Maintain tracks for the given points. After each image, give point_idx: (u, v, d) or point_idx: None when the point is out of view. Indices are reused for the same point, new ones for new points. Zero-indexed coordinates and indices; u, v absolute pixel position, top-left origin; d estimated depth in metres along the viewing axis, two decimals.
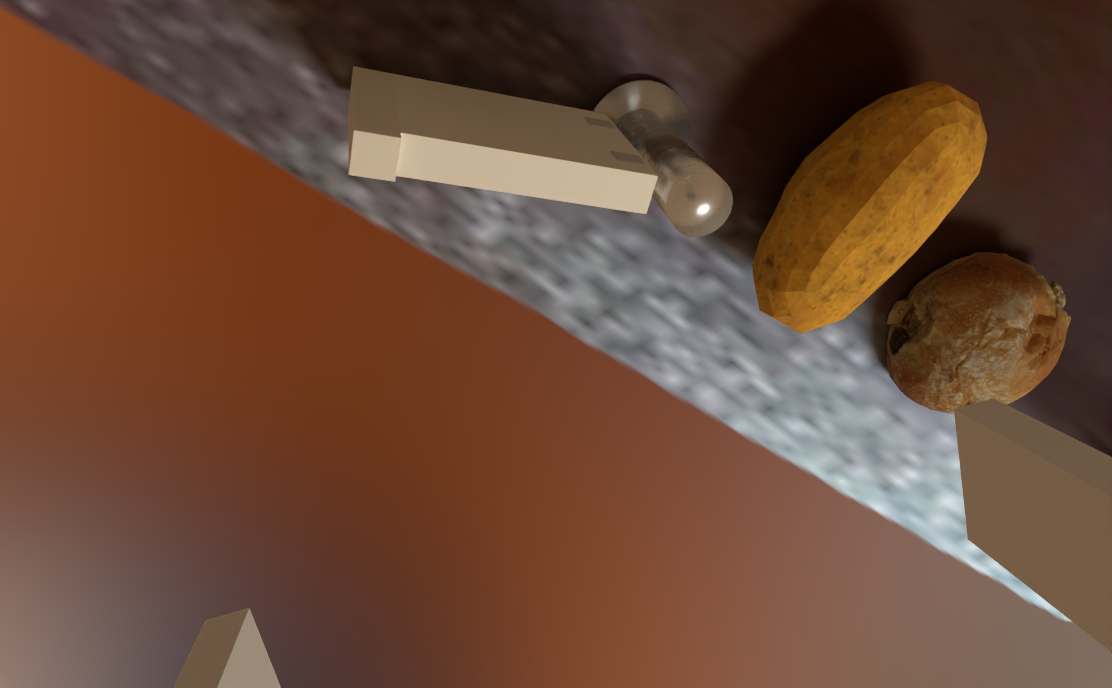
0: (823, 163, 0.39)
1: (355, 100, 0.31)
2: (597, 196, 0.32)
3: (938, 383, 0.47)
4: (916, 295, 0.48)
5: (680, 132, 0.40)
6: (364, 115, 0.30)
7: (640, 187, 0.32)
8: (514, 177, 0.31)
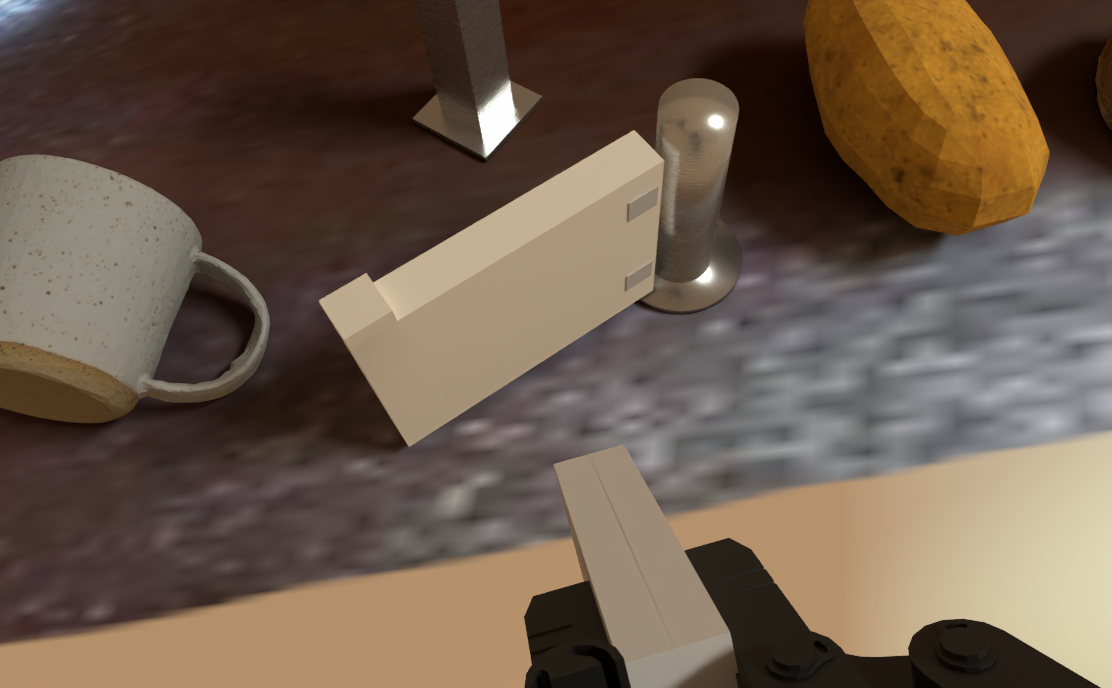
0: (824, 93, 0.34)
1: None
2: (602, 184, 0.26)
3: None
4: None
5: None
6: None
7: (630, 148, 0.27)
8: (509, 233, 0.26)
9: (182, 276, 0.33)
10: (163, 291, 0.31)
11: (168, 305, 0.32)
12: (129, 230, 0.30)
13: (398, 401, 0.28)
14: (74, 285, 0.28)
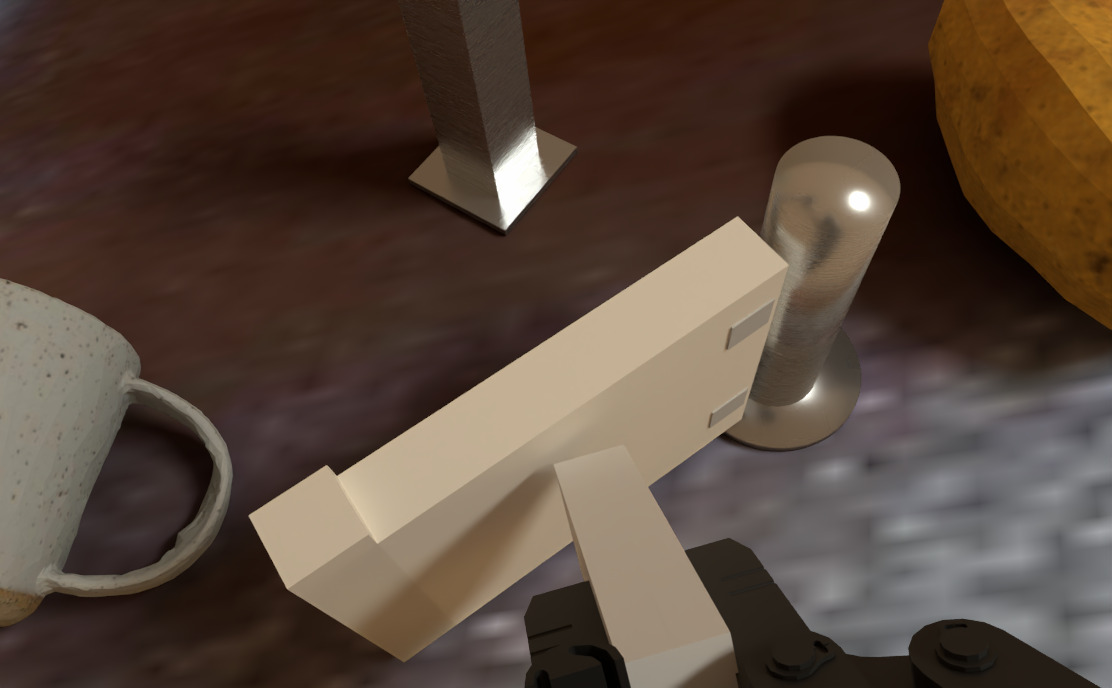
0: (970, 144, 0.25)
1: None
2: (695, 305, 0.17)
3: None
4: None
5: None
6: None
7: (734, 246, 0.18)
8: (553, 387, 0.16)
9: (108, 416, 0.23)
10: (76, 444, 0.22)
11: (86, 460, 0.23)
12: (21, 365, 0.21)
13: (385, 626, 0.19)
14: None
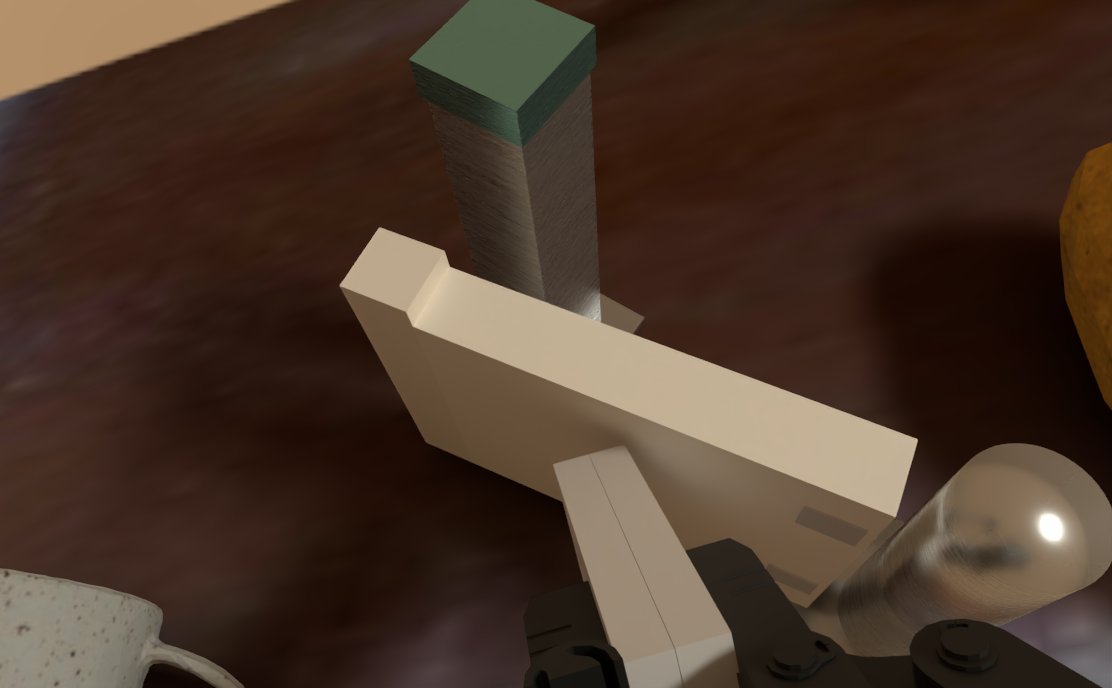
0: None
1: None
2: (783, 450, 0.15)
3: None
4: None
5: None
6: None
7: (878, 454, 0.15)
8: (619, 375, 0.16)
9: None
10: None
11: None
12: (22, 680, 0.17)
13: (413, 396, 0.21)
14: None
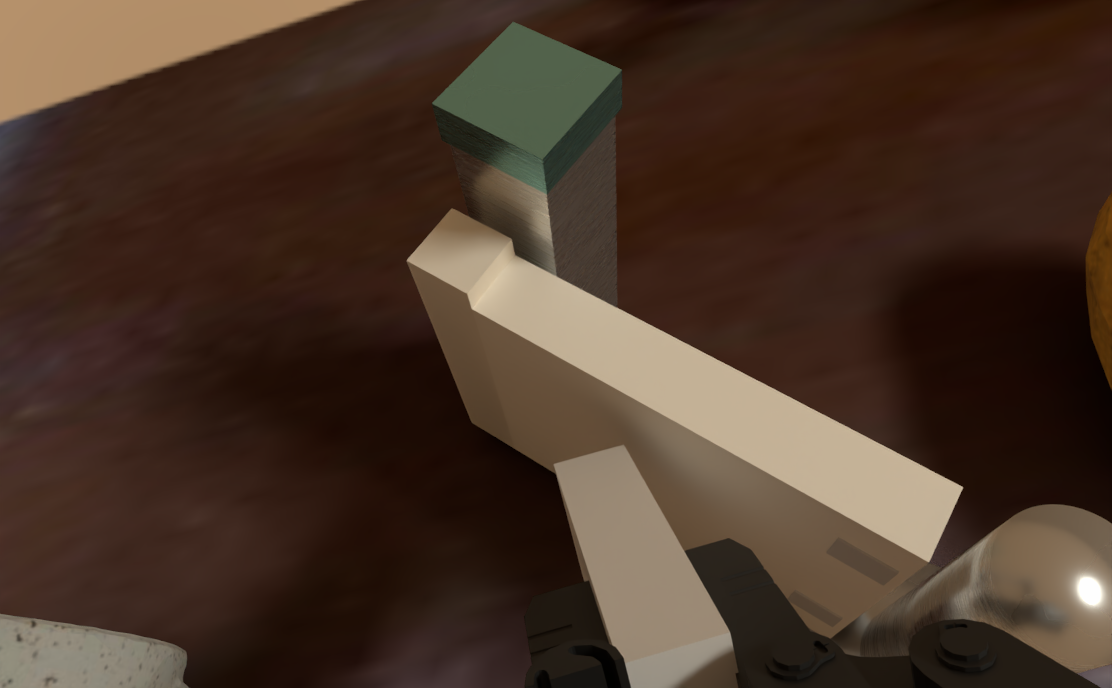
0: None
1: None
2: (823, 480, 0.15)
3: None
4: None
5: None
6: None
7: (920, 496, 0.15)
8: (667, 383, 0.16)
9: None
10: None
11: None
12: None
13: (464, 377, 0.22)
14: None
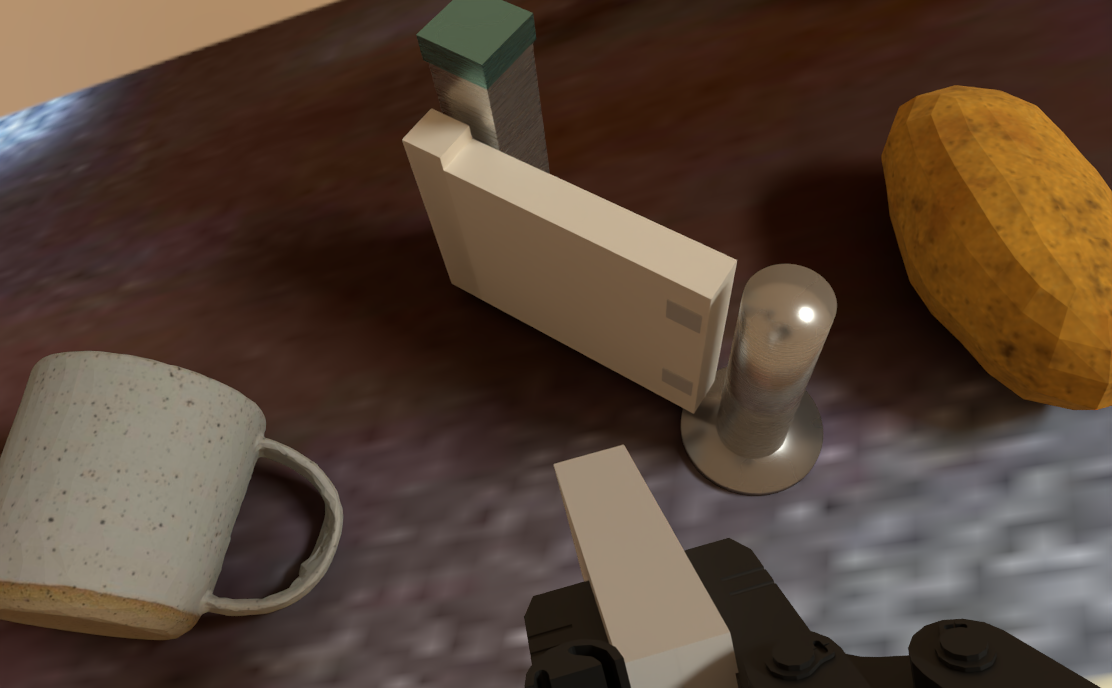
0: (911, 245, 0.30)
1: None
2: (654, 258, 0.25)
3: None
4: None
5: None
6: None
7: (710, 265, 0.25)
8: (564, 209, 0.26)
9: (246, 470, 0.29)
10: (227, 494, 0.28)
11: (232, 507, 0.28)
12: (191, 434, 0.26)
13: (443, 236, 0.32)
14: (132, 508, 0.25)
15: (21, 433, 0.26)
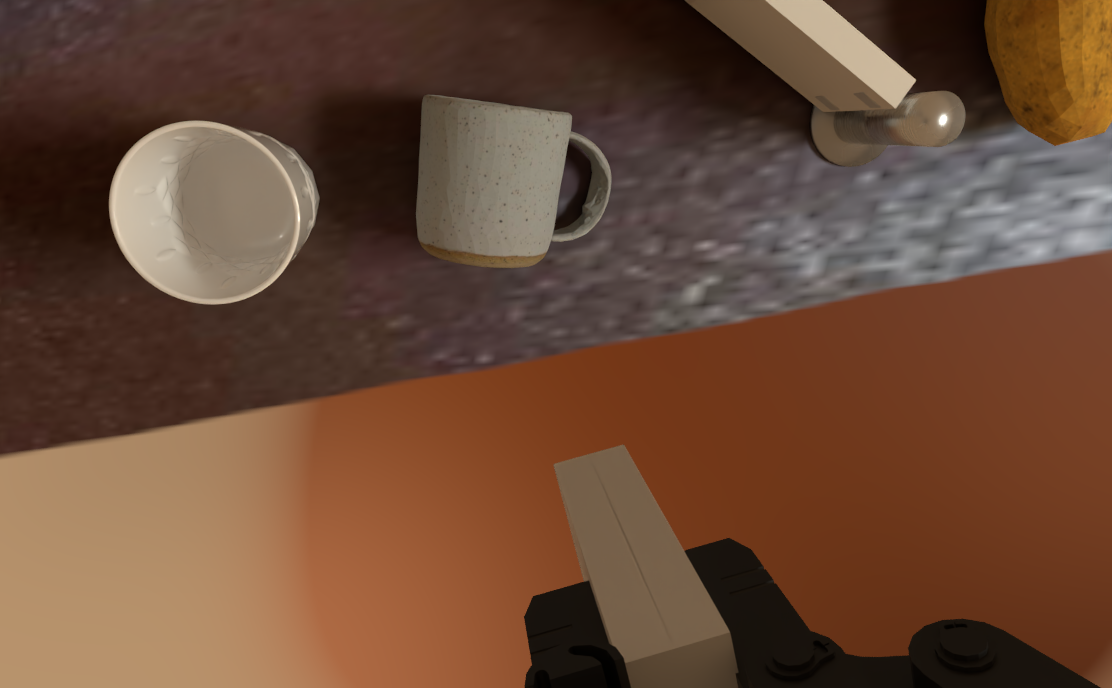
0: (1001, 15, 0.44)
1: None
2: (868, 74, 0.39)
3: None
4: None
5: None
6: None
7: (900, 83, 0.40)
8: (818, 25, 0.38)
9: None
10: None
11: None
12: (557, 155, 0.41)
13: None
14: (537, 209, 0.41)
15: (460, 161, 0.39)
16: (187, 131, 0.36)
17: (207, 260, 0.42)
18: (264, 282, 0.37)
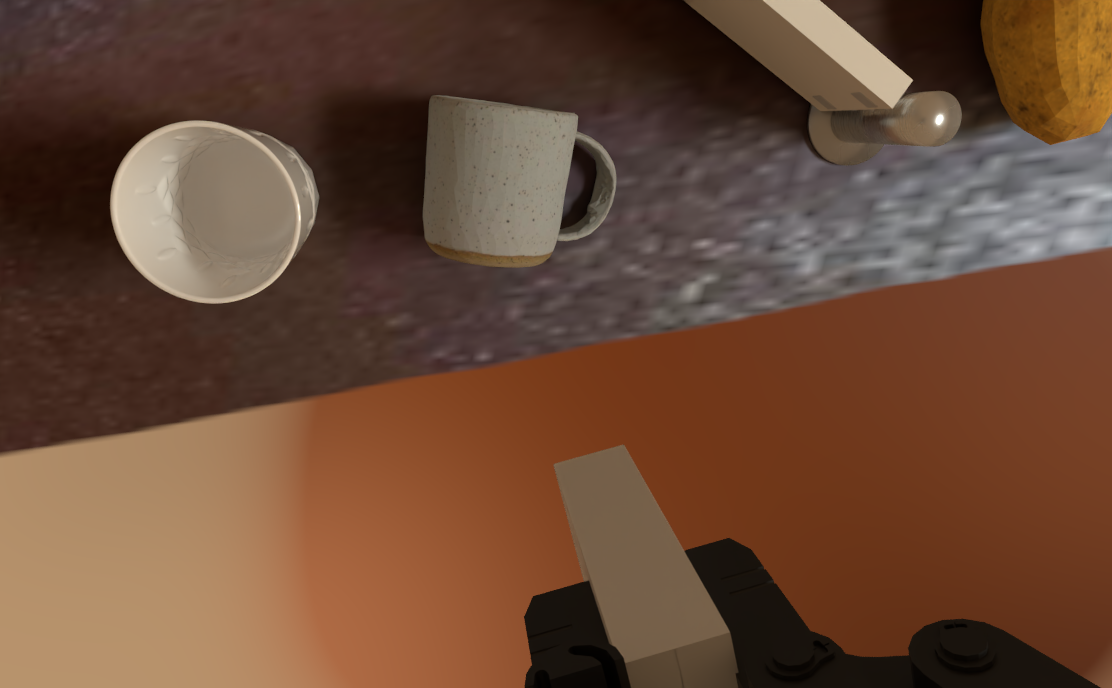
0: (997, 15, 0.45)
1: None
2: (865, 74, 0.40)
3: None
4: None
5: None
6: None
7: (897, 83, 0.40)
8: (816, 26, 0.39)
9: None
10: None
11: None
12: (563, 156, 0.41)
13: None
14: (544, 209, 0.41)
15: (467, 161, 0.40)
16: (188, 131, 0.36)
17: (207, 259, 0.42)
18: (265, 281, 0.37)
